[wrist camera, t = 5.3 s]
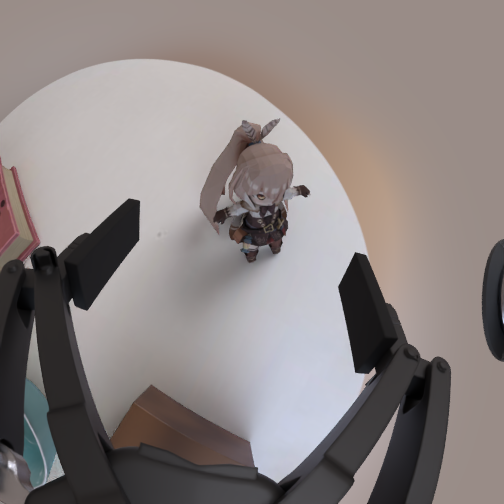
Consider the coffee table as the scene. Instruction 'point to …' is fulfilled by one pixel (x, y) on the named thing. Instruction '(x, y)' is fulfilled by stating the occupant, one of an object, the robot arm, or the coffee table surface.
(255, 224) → the toy
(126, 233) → the robot arm
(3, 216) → the book
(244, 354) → the coffee table surface
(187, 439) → the walnut block
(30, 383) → the bowl
